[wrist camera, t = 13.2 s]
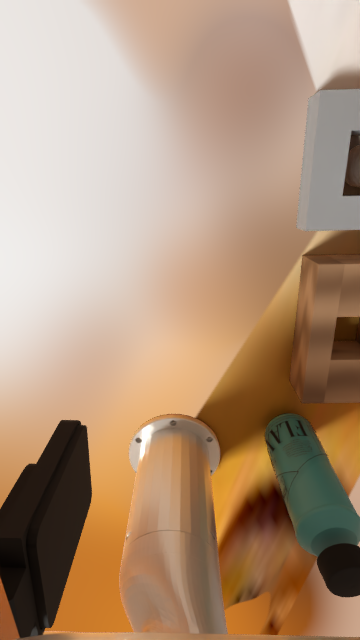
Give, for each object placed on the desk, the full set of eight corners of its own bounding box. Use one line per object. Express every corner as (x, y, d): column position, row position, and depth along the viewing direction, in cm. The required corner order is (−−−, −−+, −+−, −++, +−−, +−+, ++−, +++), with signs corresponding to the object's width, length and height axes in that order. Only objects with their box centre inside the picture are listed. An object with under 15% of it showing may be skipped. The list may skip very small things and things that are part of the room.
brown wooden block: (368, 379, 44) (390, 402, 39) (289, 380, 44) (301, 403, 39) (393, 253, 38) (422, 262, 33) (302, 255, 38) (319, 264, 33)
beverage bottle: (298, 397, 45) (379, 546, 26) (316, 433, 47) (403, 596, 28) (252, 416, 46) (298, 573, 27) (272, 451, 48) (327, 619, 29)
